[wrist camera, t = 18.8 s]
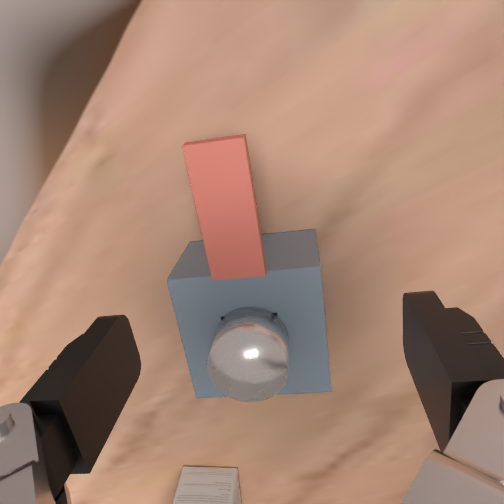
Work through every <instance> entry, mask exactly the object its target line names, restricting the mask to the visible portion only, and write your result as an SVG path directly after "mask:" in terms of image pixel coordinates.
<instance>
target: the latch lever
mask: <svg viewBox="0 0 504 504" xmlns="http://www.w3.org/2000/svg"><path fill="white" fill-rule="evenodd" d="M182 148H183V152H184V157H185V161H186V166H187V170H188V175H189V179H190V183H191V188H192V192H193V197H194V201H195V206H196V210H197V215H198V219H199V224H200V228H201V232H202V237H203V241H204V246H205V250H206V255H207V259H208V264H209V268H210V273H211V277H212V281H214V280H226V279H237V278H249V277H260V276H266V263H265V257H264V250H263V244H262V237H261V231H260V224H259V218H258V211H257V205H256V198H255V192H254V186H253V179H252V173H251V166H250V160H249V153H248V147H247V140H246V134H243V135H236V136H229V137H222V138H215V139H207V140H200V141H193V142H186V143H185V144H184V145H183V146H182Z"/></svg>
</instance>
